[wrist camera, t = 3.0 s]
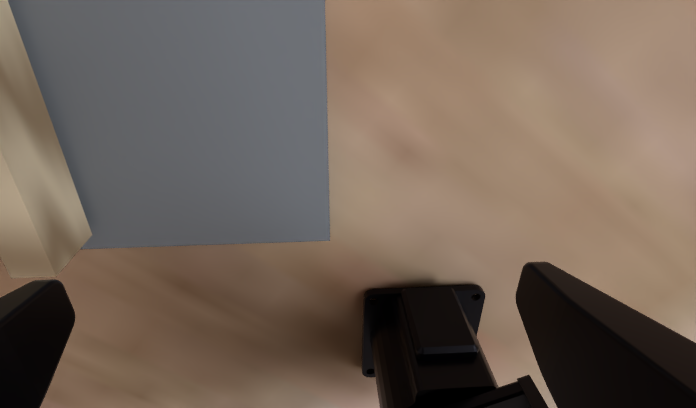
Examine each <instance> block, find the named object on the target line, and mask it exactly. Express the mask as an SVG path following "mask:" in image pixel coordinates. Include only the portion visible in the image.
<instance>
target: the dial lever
mask: <svg viewBox="0 0 696 408" xmlns="http://www.w3.org/2000/svg"><path fill="white" fill-rule="evenodd" d="M91 236H92V232H91V230H90V227H89V224H88V221H87V219H86V216H85V213H84V210H83V208H82V205H81V202H80V199H79V196H78V194H77V191H76V188H75V185H74V183H73V180H72V177H71V174H70V172H69V169H68V166H67V163H66V160H65V158H64V155H63V152H62V149H61V147H60V144H59V141H58V138H57V136H56V133H55V130H54V127H53V124H52V122H51V119H50V116H49V113H48V111H47V108H46V105H45V102H44V100H43V97H42V94H41V91H40V88H39V86H38V83H37V80H36V77H35V75H34V72H33V69H32V66H31V64H30V61H29V58H28V55H27V52H26V50H25V47H24V44H23V41H22V39H21V36H20V33H19V30H18V28H17V25H16V22H15V19H14V16H13V14H12V11H11V8H10V5H9V3H8V0H0V258H1V260H2V262H3V263H4V265H5V267H6V269H7V271H8V273H9V275H10V277H11V278H35V277H56V276H57V275H58V274H59V273H60V272H61V271H62V269H63V268H64V267H65V266H66V265H67V264H68V263H69V261H70V260H71V259H72V258H73V257H74V256H75V254H76V253H77V252H78V251H79V250H80V249H81V247H82V246H83V245H84V244H85V243H86V242H87V240H88V239H89V238H90V237H91Z"/></svg>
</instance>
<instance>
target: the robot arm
mask: <svg viewBox="0 0 696 408" xmlns="http://www.w3.org/2000/svg"><path fill="white" fill-rule="evenodd" d="M474 294H476V295H474ZM472 295H474V296H472ZM371 298H376V299H375V300H370V299H371ZM484 300H485V293H484V291H483V289H482V288H481V287H480V286H478V285H463V286H439V287H415V288H390V289H372V290H369V291H367V292H366V293H365V294H364V302H363V336H362V373H363V375H364V376H366V377H376V384H377V391H378V397H379V404H380V408H548V406H547V404H546V403H545V401H544V399H543V397H542V396H541V394H540V392H539V391H538V389H537V387H536V386H535V384H534V382H533V380H532V379H531V377H530V375H527V376H524V377H521V378H518V379H517V381H516V382H513V383H510V384H508V385H505V386H502V387H498V385H497V382H496V380H495V378H494V376H493V373H492V371H491V369H490V366H489V364H488V362H487V360H486V357H485V355H484V353H483V351H482V348H481V346H480V344H479V341H478V339H477V337H476V336H477V331H478V327H479V322H480V318H481V313H482V309H483V304H484ZM516 304H517V307H518V310H519V313H520V316H521V319H522V321H523V324H524V327H525V330H526V333H527V335H528V338H529V341H530V344H531V346H532V349H533V352H534V355H535V358H536V360H537V363H538V366H539V368H540V371H541V373H542V376H543V378H544V380H545V382H546V385H547V387H548V389H549V391H550V393H551V395H552V397H553V399H554V401H555V403H556V405H557V407H558V408H696V343H695V342H693V341H691V340H689V339H687V338H686V337H684V336H682V335H680V334H678V333H676V332H675V331H673V330H671V329H669V328H667V327H665V326H664V325H662V324H660V323H658V322H656V321H654V320H653V319H651V318H649V317H647V316H645V315H643V314H642V313H640V312H638V311H636V310H634V309H632V308H631V307H629V306H627V305H625V304H623V303H621V302H620V301H618V300H616V299H614V298H612V297H610V296H609V295H607V294H605V293H603V292H601V291H599V290H598V289H596V288H594V287H592V286H590V285H588V284H587V283H585V282H583V281H581V280H579V279H577V278H576V277H574V276H572V275H570V274H568V273H566V272H565V271H563V270H561V269H559V268H557V267H556V266H554V265H552V264H550V263H548V262H528V263H526V264H525V265H524V266H523V269H522V272H521V276H520V280H519V284H518V288H517V291H516ZM74 322H75V312H74V309H73V307H72V304H71V302H70V300H69V297H68V295H67V293H66V290H65V288H64V286H63V284H62V283H61V282H60V281H58V280H35V281H32V282H30V283H28V284H26V285H24V286H22V287H20V288H18V289H16V290H14V291H12V292H11V293H9V294H7V295H5V296H3V297H1V298H0V408H40V406H41V404H42V402H43V399H44V397H45V395H46V393H47V390H48V388H49V386H50V383H51V381H52V378H53V376H54V373H55V371H56V368H57V366H58V363H59V361H60V358H61V356H62V353H63V351H64V348H65V346H66V343H67V341H68V338H69V336H70V333H71V331H72V328H73V326H74Z"/></svg>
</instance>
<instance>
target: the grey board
mask: <svg viewBox="0 0 696 408" xmlns="http://www.w3.org/2000/svg"><path fill="white" fill-rule="evenodd" d="M8 3H9V5H10V8H11V11H12V14H13V16H14V19H15V22H16V25H17V28H18V30H19V33H20V36H21V39H22V41H23V44H24V47H25V50H26V52H27V55H28V58H29V61H30V64H31V66H32V69H33V72H34V75H35V77H36V80H37V83H38V86H39V88H40V91H41V94H42V97H43V100H44V102H45V105H46V108H47V111H48V113H49V116H50V119H51V122H52V124H53V127H54V130H55V133H56V136H57V138H58V141H59V144H60V147H61V149H62V152H63V155H64V158H65V160H66V163H67V166H68V169H69V172H70V174H71V177H72V180H73V183H74V185H75V188H76V191H77V194H78V196H79V199H80V202H81V205H82V208H83V210H84V213H85V216H86V219H87V221H88V224H89V227H90V230H91V232H92V236H91V237H90V238H89V239H88V240H87V242H86V243H85V244H84V245H83V246H82V247H81V249H100V248H129V247H159V246H188V245H217V244H246V243H275V242H305V241H330V219H329V172H328V125H327V78H326V31H325V0H8Z"/></svg>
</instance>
